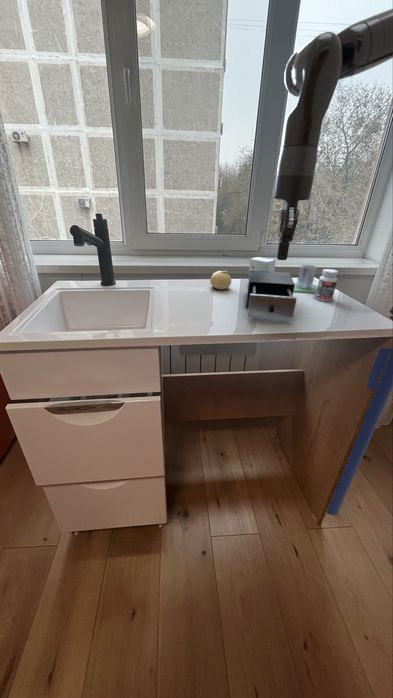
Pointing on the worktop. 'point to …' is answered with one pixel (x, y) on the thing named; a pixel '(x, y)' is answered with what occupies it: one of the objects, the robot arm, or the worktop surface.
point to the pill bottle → (326, 285)
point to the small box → (262, 264)
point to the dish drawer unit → (268, 281)
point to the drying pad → (312, 290)
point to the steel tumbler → (306, 276)
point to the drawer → (271, 303)
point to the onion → (220, 280)
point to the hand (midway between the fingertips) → (281, 259)
